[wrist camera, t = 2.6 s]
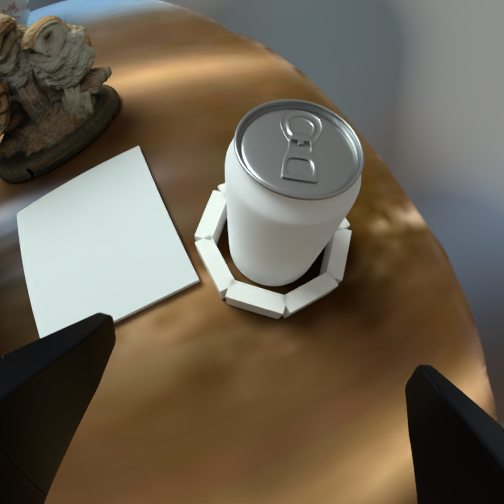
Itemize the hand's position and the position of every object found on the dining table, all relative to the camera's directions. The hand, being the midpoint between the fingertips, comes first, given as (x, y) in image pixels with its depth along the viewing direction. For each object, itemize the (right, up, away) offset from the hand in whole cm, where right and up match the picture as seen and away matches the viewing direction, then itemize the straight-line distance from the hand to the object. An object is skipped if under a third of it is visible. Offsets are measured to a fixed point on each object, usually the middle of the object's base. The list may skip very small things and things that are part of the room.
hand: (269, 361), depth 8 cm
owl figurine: (-23, +16, +19) cm, 34 cm away
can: (+1, +3, +16) cm, 16 cm away
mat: (-14, +4, +15) cm, 21 cm away
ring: (+1, +3, +15) cm, 16 cm away
